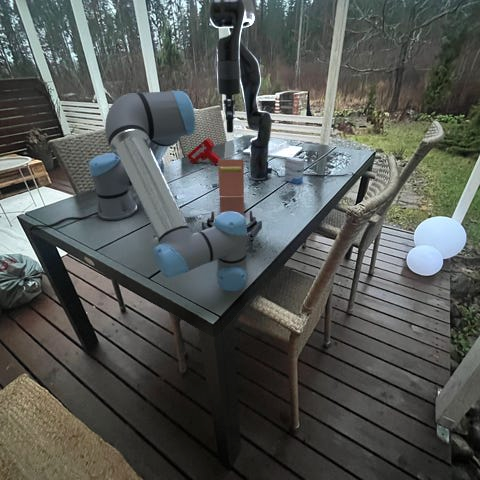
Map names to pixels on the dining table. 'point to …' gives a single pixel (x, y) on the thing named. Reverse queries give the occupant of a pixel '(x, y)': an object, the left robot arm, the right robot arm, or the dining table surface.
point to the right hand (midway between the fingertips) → (230, 129)
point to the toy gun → (204, 152)
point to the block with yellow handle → (231, 177)
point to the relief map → (280, 150)
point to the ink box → (294, 170)
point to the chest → (232, 204)
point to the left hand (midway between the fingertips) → (231, 214)
